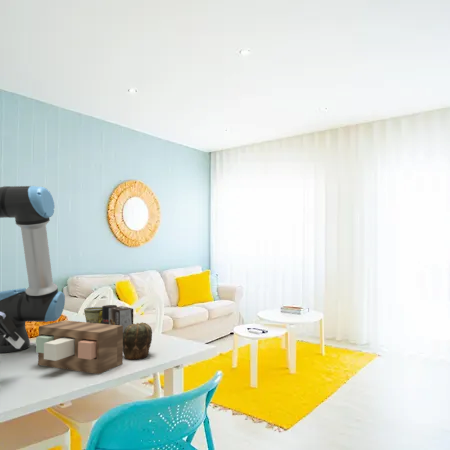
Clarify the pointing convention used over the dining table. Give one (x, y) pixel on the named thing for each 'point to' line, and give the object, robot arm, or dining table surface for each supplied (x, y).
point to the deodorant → (106, 313)
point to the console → (103, 333)
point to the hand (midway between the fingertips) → (20, 344)
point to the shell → (137, 341)
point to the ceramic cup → (93, 314)
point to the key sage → (42, 342)
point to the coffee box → (121, 316)
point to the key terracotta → (87, 349)
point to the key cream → (59, 348)
